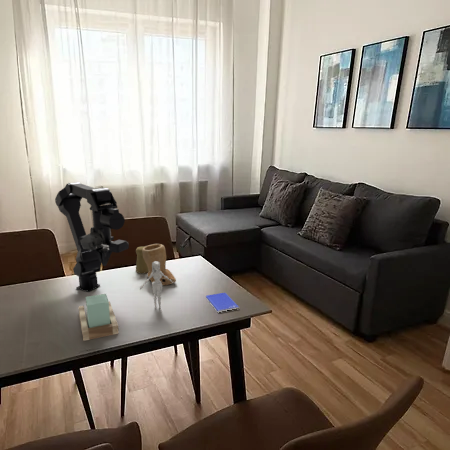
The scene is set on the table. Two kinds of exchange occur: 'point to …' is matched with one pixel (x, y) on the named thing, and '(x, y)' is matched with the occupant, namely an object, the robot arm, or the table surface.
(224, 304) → the hard drive
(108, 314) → the sage block
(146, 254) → the tan hollow piece
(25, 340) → the table surface
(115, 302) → the table surface
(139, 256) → the cork
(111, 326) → the chute
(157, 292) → the human figurine
